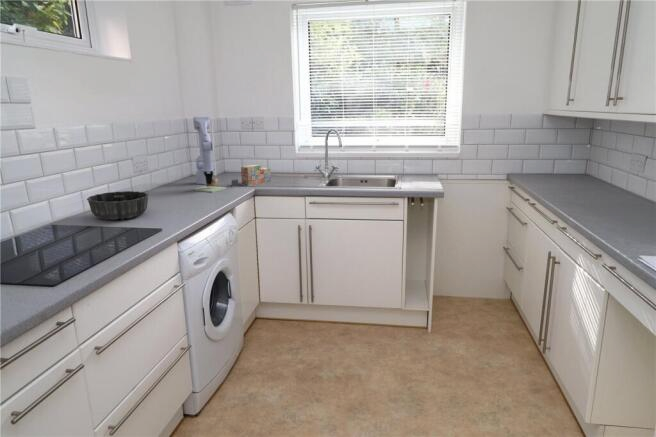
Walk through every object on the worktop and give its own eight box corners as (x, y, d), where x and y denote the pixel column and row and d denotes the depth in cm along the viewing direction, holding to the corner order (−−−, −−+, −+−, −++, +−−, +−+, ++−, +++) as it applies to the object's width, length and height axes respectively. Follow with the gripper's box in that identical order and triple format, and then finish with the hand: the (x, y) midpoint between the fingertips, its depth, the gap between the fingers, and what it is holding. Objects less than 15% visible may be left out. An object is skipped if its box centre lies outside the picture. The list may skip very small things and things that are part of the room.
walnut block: (206, 185, 273) (205, 175, 272) (212, 185, 274) (212, 175, 273) (206, 186, 269) (205, 176, 268) (212, 186, 270) (212, 176, 269)
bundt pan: (134, 207, 226) (131, 188, 224) (161, 215, 210) (159, 195, 208) (80, 217, 207) (77, 196, 204) (105, 226, 190) (102, 204, 188)
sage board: (193, 190, 271) (193, 188, 271) (207, 186, 281) (206, 185, 281) (212, 192, 263) (212, 190, 263) (226, 189, 274) (225, 187, 273)
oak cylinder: (209, 186, 282) (209, 179, 280) (214, 185, 285) (214, 178, 284) (214, 187, 280) (214, 179, 278) (219, 186, 283) (219, 178, 282)
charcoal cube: (232, 186, 284) (231, 180, 283) (231, 185, 287) (231, 179, 286) (238, 186, 285) (238, 180, 284) (237, 185, 288) (237, 179, 287)
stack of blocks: (264, 180, 307) (263, 162, 304) (270, 181, 303) (270, 163, 300) (241, 184, 290) (240, 166, 287) (248, 185, 286) (247, 167, 283)
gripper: (214, 162, 262) (216, 185, 266) (214, 160, 276) (215, 181, 279) (202, 163, 260) (204, 185, 264) (202, 160, 274) (203, 181, 277)
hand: (209, 183), depth 271 cm, fingers closed on walnut block, 4 cm apart
